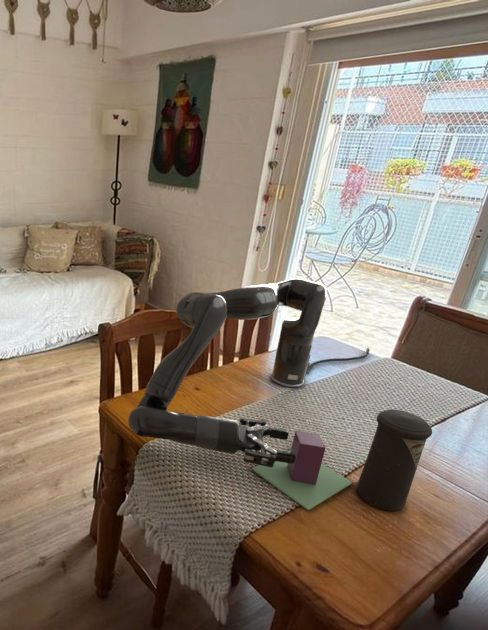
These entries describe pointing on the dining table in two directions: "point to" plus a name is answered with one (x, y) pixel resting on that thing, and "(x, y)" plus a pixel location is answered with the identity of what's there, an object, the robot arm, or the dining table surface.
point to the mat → (304, 484)
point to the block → (306, 457)
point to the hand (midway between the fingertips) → (291, 446)
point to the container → (393, 459)
